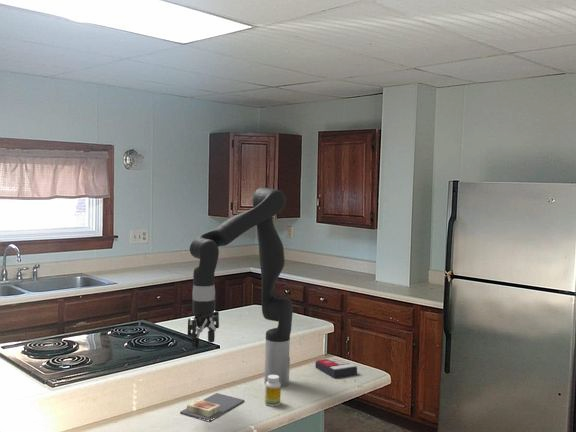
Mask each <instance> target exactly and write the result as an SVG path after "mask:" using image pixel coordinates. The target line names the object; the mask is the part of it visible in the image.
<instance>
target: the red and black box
mask: <svg viewBox="0 0 576 432" xmlns="http://www.w3.org/2000/svg"><path fill="white" fill-rule="evenodd" d="M315 369H317V370H319V371H320V372H322V373H324V374H326V375H328V377H331V378H333V379H334V380H336V379H341V378H348V377H354V375H355V376H358V367H357V365H355V364H352V363H350V362H349V361H345V360H344V359H341V358H339V357H331V358H327V359H326V358H324V359H318V360H316V361H315Z"/></svg>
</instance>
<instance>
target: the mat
mask: <svg viewBox="0 0 576 432" xmlns="http://www.w3.org/2000/svg"><path fill="white" fill-rule="evenodd" d="M202 400H203V401H207V402H211V403H215V404H218V405H220V411H219V412H217V413H216V414H214V415H212V416H210V417H207V416H203V415H200V414H196V413H193V412H189V411H187V407H186V408H185V409H182V410H181V411H179V414H182V415H185V416H187V417H190V418H194V417H196V418H195V419H198V418H201V419H205V420H209V421H210V420H211V419H213V418H215V417H217V416H219V415H221V414H222V415H224V414H226V413H227V411H228V412H229V411H231V410H232V408H233V409H234V408H236V407H237V405H238V406H240V405H241V404H243V403H245V399H243V398H239V397H233V396H230V395H225V394H222V393H219V392H218V393H217V392H216V393H214V394H211V395H210V396H208V397H206V398H204V399H202ZM239 404H240V405H239ZM230 409H231V410H230ZM225 412H226V413H225ZM223 413H224V414H223ZM222 415H221V416H222ZM219 417H220V416H219ZM217 418H218V417H217ZM201 419H200V420H201ZM215 419H216V418H215ZM205 420H204V421H205ZM210 422H211V421H210Z"/></svg>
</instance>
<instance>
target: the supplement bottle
mask: <svg viewBox="0 0 576 432" xmlns="http://www.w3.org/2000/svg"><path fill="white" fill-rule="evenodd" d="M267 380H268V381H267V382H266V384H265V383H264V385H265V388H264V390H265V391H264V404H265V405H266V406H268V405H269V406H268V407H277V406H279V405H280V404H281V393H282V392H281V390H282V389H281V388H282V387H281V384H280V382H279V376H278V375H269V376H268V379H267Z"/></svg>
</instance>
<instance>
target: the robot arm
mask: <svg viewBox="0 0 576 432" xmlns="http://www.w3.org/2000/svg"><path fill="white" fill-rule="evenodd" d="M286 202H287V198H286V196H285V193H284V192H282V191H281V190H279V189H275V188H271V187H270V188H269V187H259V188H257V189H256V190H255V191H254V193H253V196H252V207H253V208H250V209H249V210H246V211H244V212H241V213H239V214H236V215H234V216H232V217H230V218H227V220H225V221H223V222H222V223H221V224H219V225H218V226H216V228H214V229H211V230H209V231H207V232H204V233H202V234H201V235H198V236H197V237H196V238H195V239H193V240H192V241H191V243H190V245H189V252H190V255H191V256H192V257H194V258H195V259H198V260H199V265H198V266H197V267H195V268H194V270H193V275H192V278H193V283H192V306H191V307H192V312H193V313H194V317H193V318H191V317H189V318H188V320H187V337H189V338H191V346H192V349H194V350H198V349H199V348H200V334H201V333H202V332H203V331H204V329H206V328H207V330H208V331H207V342H208V343H214V342H215V337H216V336H215V335H216V333H215V332H216V331H217V330H216V329H219V327H220V319H219V317H220V316H219V315H220V314H219V311H218V310H216V288H215V273H216V272H215V271H216V268H217V265H218V261H219V254H220V252H219V250H220V249H219V247H225V246H227V245H229V244H230V243H233V241H235V240H236V239H237V238H239V237H240V236H241V235H242V234H244V233H245V232H247V231H249V230H251V229H252V228H254V227H256V231H257V241H258V253H259V254H258V255H259V264H260V275H261V276H260V277H261V311H262V313H261V314H262V316H263V318H264V319H265V320H268V321H273V322H278V323H277V327H275V328H271V329H268V330H266V332H265V350H264V351H265V352H264V353H265V354H264V356H265V357H264V358H265V359H264V385H265V384H266V382H267V381H268V380H267V379H268V376H269V375H278V376H279V382H280V384H281V388H283V387H286V386H288V385H289V383H290V365H291V364H290V363H291V357H290V351H291V349H290V347H291V346H290V344H291V340H290V339H291V332H292V323H293V315H294V314H293V313H294V312H293V311H294V310H293V309H294V307H293V302H292V300H291V299H290V298H288V297H282V296H276V295H275V285H276V282H277V280H278V278H279V276H280V274H281V273H282V271H283V269H284V267H285V261H286V260H285V250H284V245H283V242H282V240H281V237H280V236H279V233H278V231H277V230H276V227H275V224H274V220H273V217H274V216H276V215H278V214H280V213H281V212H282V211H283V210H284V208H285V207H286Z"/></svg>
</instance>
